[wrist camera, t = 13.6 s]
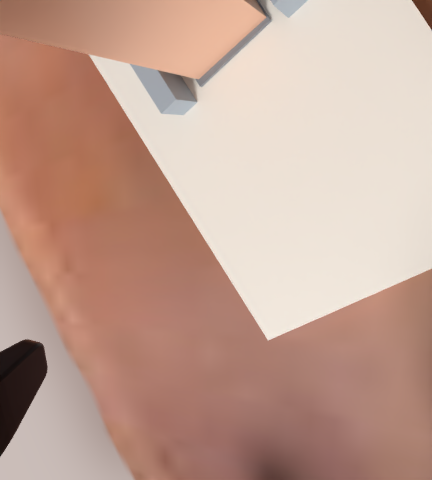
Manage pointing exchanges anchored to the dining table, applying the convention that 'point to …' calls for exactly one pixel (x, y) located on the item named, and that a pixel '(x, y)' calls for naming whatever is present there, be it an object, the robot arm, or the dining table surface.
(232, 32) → the tall peach block
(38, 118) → the dining table surface
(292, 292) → the dock
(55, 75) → the dining table surface
